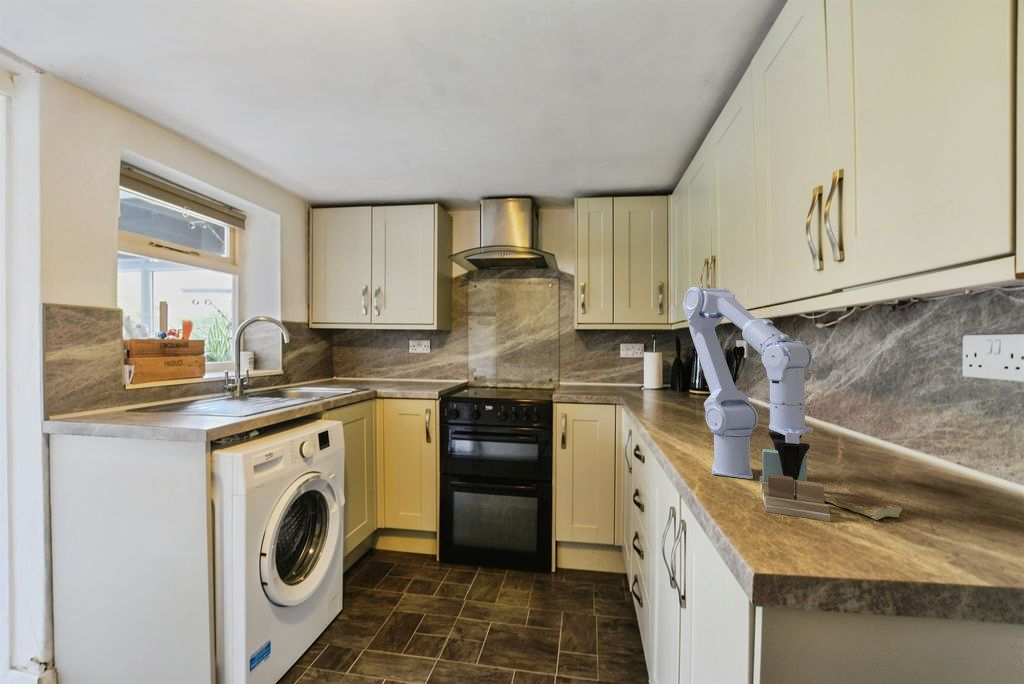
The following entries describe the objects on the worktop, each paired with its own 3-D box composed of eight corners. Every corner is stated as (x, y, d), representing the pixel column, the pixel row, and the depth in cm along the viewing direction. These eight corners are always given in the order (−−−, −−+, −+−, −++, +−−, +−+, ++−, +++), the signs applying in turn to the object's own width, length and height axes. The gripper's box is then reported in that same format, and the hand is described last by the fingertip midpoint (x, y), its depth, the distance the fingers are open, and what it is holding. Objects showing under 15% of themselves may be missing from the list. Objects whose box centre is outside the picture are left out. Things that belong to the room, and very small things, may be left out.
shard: (810, 497, 78) (810, 487, 78) (840, 494, 80) (840, 485, 80) (874, 520, 68) (874, 509, 68) (907, 517, 70) (907, 506, 70)
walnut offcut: (767, 498, 75) (767, 474, 75) (792, 502, 73) (792, 477, 73) (768, 502, 73) (768, 477, 73) (794, 506, 72) (793, 480, 72)
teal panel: (762, 483, 83) (762, 448, 84) (804, 489, 80) (804, 453, 80) (763, 487, 81) (763, 451, 81) (806, 493, 78) (806, 456, 78)
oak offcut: (795, 502, 73) (794, 480, 73) (821, 506, 71) (821, 483, 71) (796, 506, 71) (796, 483, 71) (824, 510, 70) (823, 486, 70)
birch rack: (759, 485, 85) (759, 475, 85) (813, 492, 81) (813, 481, 81) (766, 511, 72) (766, 499, 72) (830, 521, 68) (830, 508, 68)
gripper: (819, 409, 72) (821, 487, 72) (805, 400, 85) (806, 466, 85) (772, 407, 75) (773, 481, 75) (765, 398, 88) (766, 462, 88)
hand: (788, 473), depth 80 cm, fingers open, 7 cm apart
